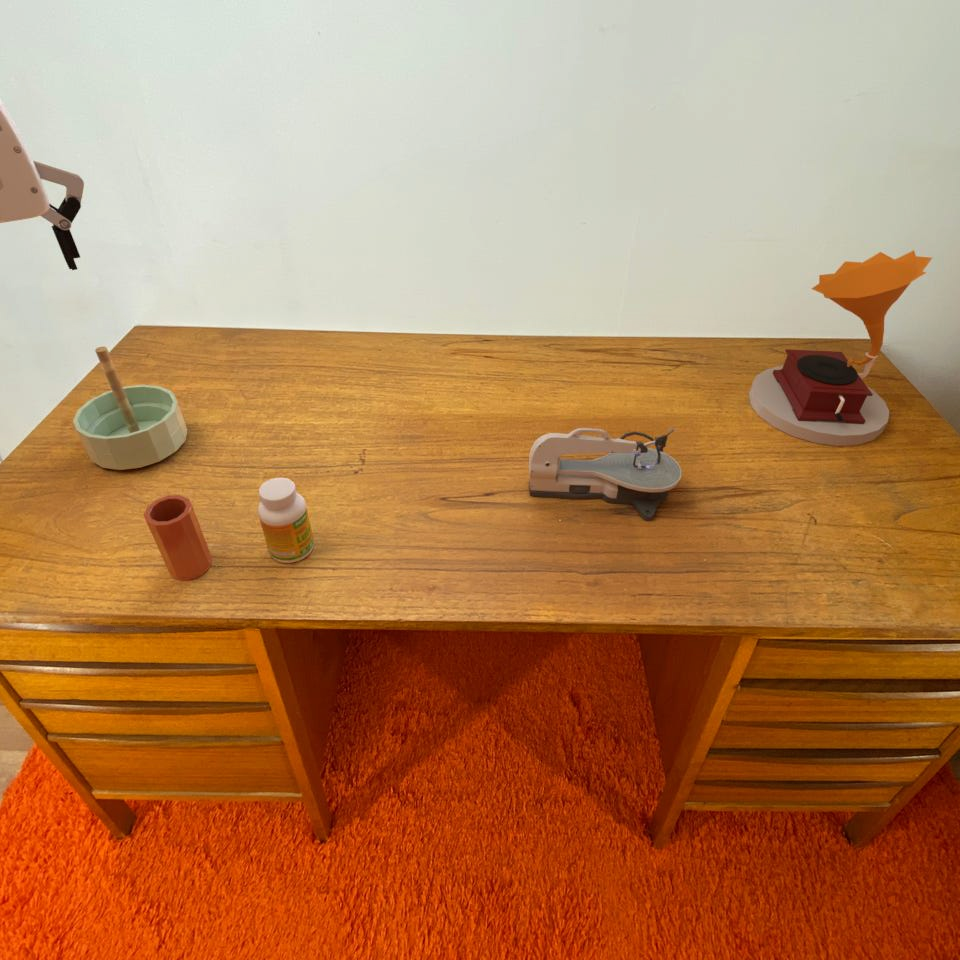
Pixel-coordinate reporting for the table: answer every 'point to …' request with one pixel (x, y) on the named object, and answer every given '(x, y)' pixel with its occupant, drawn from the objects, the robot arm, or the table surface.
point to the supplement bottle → (284, 521)
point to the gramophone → (838, 361)
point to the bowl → (112, 438)
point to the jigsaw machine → (603, 469)
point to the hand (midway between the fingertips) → (20, 275)
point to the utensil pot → (178, 537)
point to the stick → (117, 388)
